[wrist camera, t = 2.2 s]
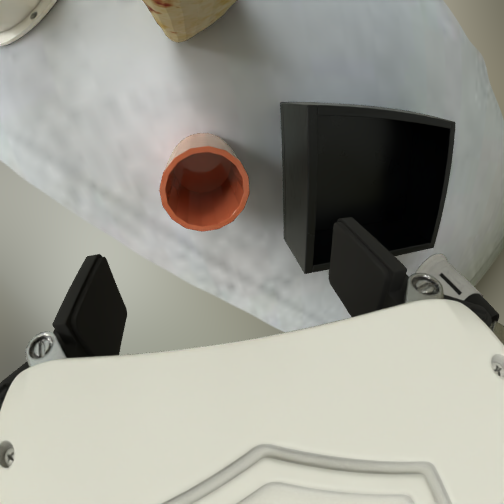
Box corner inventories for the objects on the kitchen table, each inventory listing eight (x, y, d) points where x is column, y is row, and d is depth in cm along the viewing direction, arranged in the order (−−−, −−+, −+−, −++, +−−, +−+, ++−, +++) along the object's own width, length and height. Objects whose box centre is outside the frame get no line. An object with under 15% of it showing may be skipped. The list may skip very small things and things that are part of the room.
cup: (175, 198, 26) (169, 236, 19) (165, 138, 23) (153, 155, 16) (236, 189, 27) (251, 224, 20) (231, 129, 24) (246, 141, 17)
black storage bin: (283, 238, 31) (304, 274, 25) (280, 102, 23) (307, 104, 17) (401, 221, 33) (433, 247, 27) (413, 111, 25) (455, 122, 19)
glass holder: (423, 301, 43) (469, 357, 31) (385, 278, 38) (443, 351, 25) (452, 264, 40) (504, 316, 28) (420, 231, 34) (491, 294, 22)
